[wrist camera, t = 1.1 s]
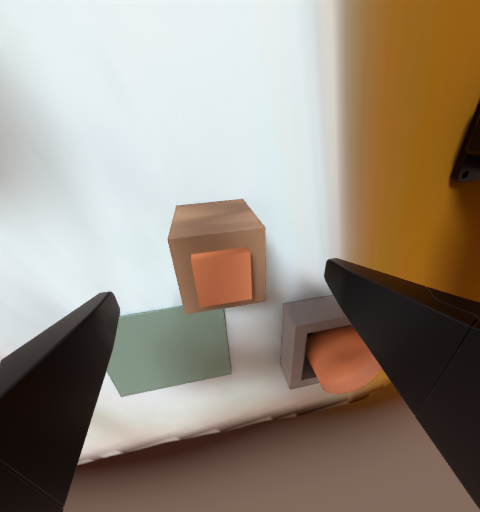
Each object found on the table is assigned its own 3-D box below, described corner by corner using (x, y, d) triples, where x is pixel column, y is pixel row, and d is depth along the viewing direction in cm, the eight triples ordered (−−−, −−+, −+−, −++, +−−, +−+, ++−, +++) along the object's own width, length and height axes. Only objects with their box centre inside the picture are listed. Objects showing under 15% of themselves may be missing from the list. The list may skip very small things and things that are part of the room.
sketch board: (222, 299, 17) (222, 301, 17) (230, 371, 21) (231, 373, 21) (81, 322, 16) (80, 324, 15) (121, 394, 20) (121, 397, 20)
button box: (370, 288, 19) (393, 307, 17) (353, 349, 23) (369, 371, 21) (283, 303, 18) (295, 326, 16) (280, 364, 22) (289, 389, 20)
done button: (362, 316, 19) (390, 345, 16) (351, 355, 21) (373, 386, 18) (306, 326, 18) (326, 359, 15) (301, 365, 20) (317, 399, 18)
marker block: (242, 198, 14) (269, 232, 9) (245, 255, 15) (268, 309, 11) (176, 205, 13) (165, 245, 8) (187, 263, 15) (184, 323, 10)
